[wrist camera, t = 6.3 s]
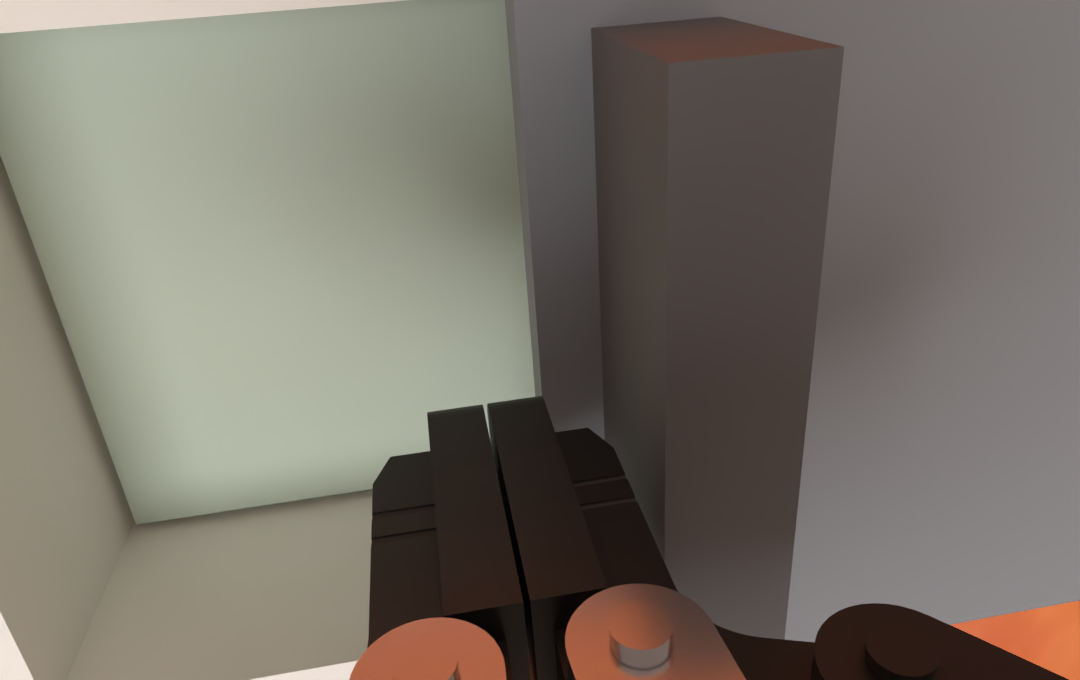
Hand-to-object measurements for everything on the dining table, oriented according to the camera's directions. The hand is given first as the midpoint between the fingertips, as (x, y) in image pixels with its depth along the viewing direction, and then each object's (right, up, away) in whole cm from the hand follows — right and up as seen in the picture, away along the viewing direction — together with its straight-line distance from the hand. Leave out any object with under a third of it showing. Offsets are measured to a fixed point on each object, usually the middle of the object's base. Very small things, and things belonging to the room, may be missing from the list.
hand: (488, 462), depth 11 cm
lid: (+9, +2, +3) cm, 9 cm away
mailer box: (-2, +4, +7) cm, 8 cm away
